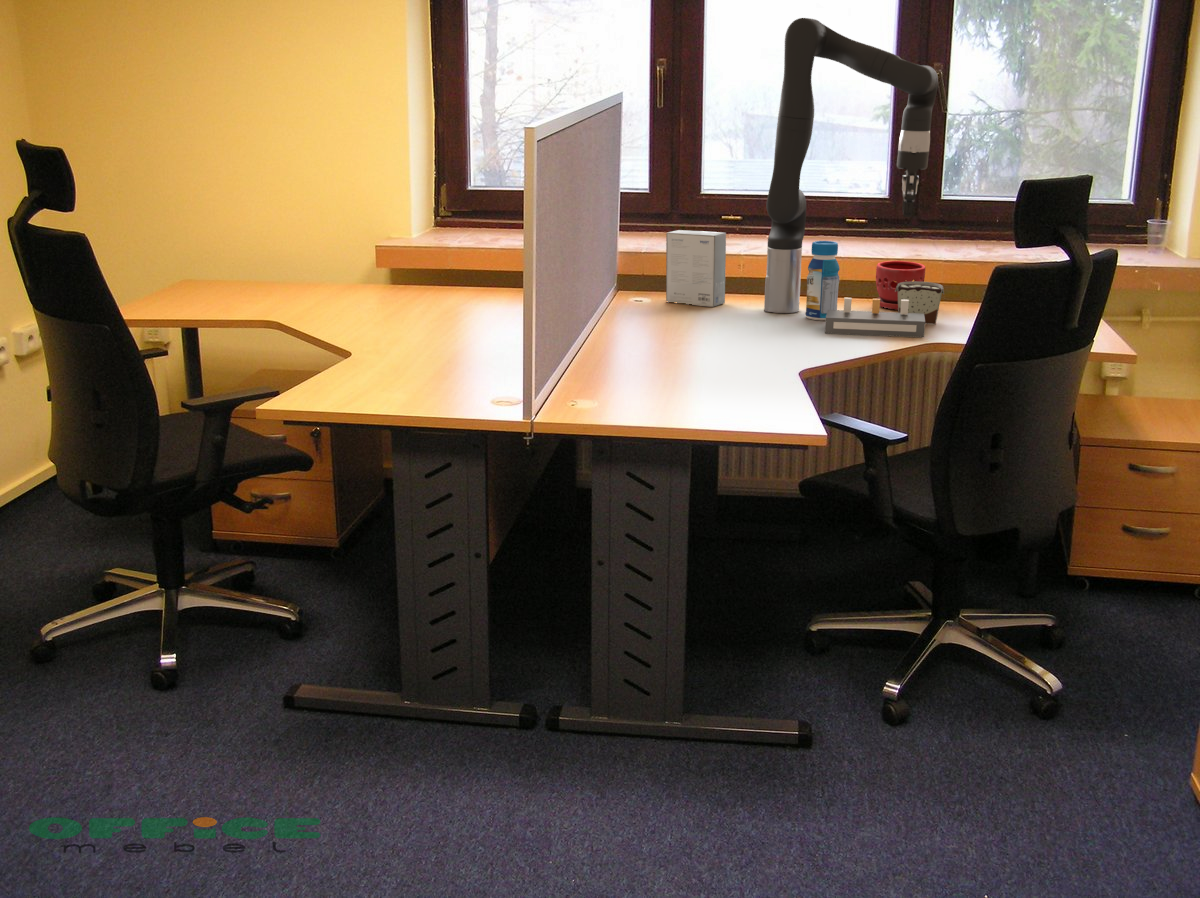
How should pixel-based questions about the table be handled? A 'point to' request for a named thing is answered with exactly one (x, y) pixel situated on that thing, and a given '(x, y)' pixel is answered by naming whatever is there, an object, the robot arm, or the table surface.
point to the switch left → (847, 304)
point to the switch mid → (875, 306)
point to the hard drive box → (695, 267)
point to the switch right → (904, 307)
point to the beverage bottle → (822, 280)
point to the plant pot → (895, 279)
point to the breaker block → (875, 323)
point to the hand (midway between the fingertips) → (906, 214)
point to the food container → (921, 298)
